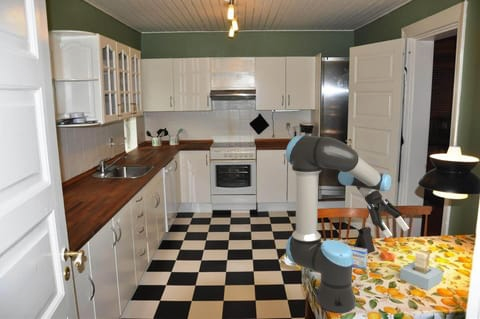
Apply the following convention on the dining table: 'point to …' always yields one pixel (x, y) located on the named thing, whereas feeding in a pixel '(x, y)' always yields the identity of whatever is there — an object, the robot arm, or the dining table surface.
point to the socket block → (421, 276)
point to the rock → (387, 256)
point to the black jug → (365, 240)
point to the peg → (422, 261)
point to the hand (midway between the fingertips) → (398, 233)
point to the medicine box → (359, 257)
